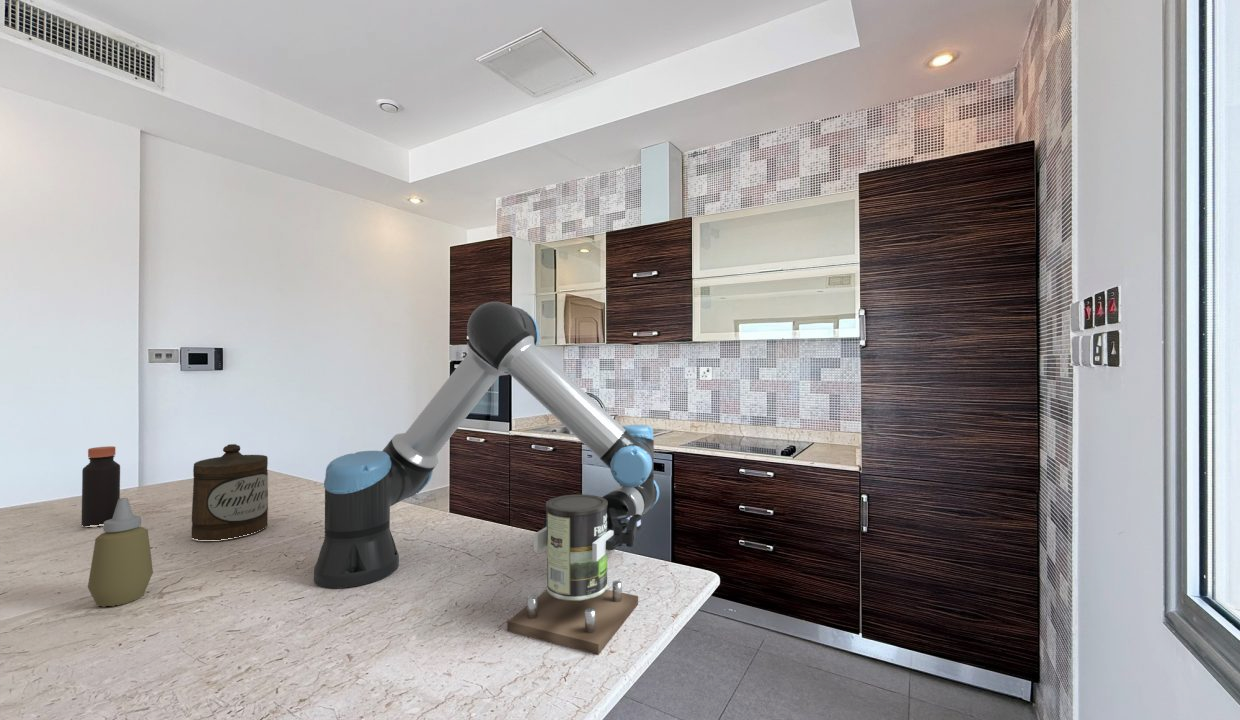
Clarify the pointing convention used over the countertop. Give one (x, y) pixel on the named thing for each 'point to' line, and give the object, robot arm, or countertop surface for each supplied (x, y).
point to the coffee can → (575, 547)
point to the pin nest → (575, 619)
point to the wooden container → (229, 495)
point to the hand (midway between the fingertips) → (564, 547)
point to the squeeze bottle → (120, 559)
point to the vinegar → (100, 486)
